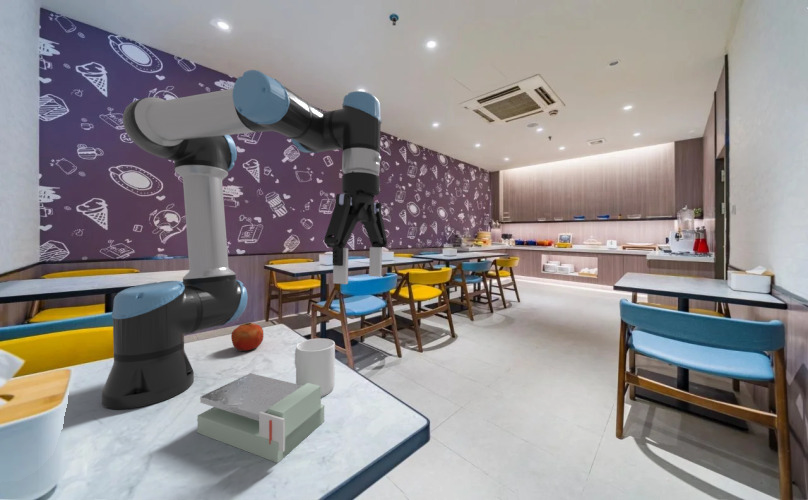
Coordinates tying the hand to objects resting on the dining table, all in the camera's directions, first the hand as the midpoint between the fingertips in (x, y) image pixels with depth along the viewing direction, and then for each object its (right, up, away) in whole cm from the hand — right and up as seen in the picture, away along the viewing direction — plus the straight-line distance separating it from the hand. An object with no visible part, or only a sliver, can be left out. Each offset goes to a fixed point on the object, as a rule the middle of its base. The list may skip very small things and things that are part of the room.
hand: (359, 279), depth 60 cm
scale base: (-16, -25, -8) cm, 31 cm away
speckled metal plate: (-18, -22, -7) cm, 29 cm away
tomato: (-39, -25, +31) cm, 56 cm away
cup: (-12, -25, +7) cm, 29 cm away
